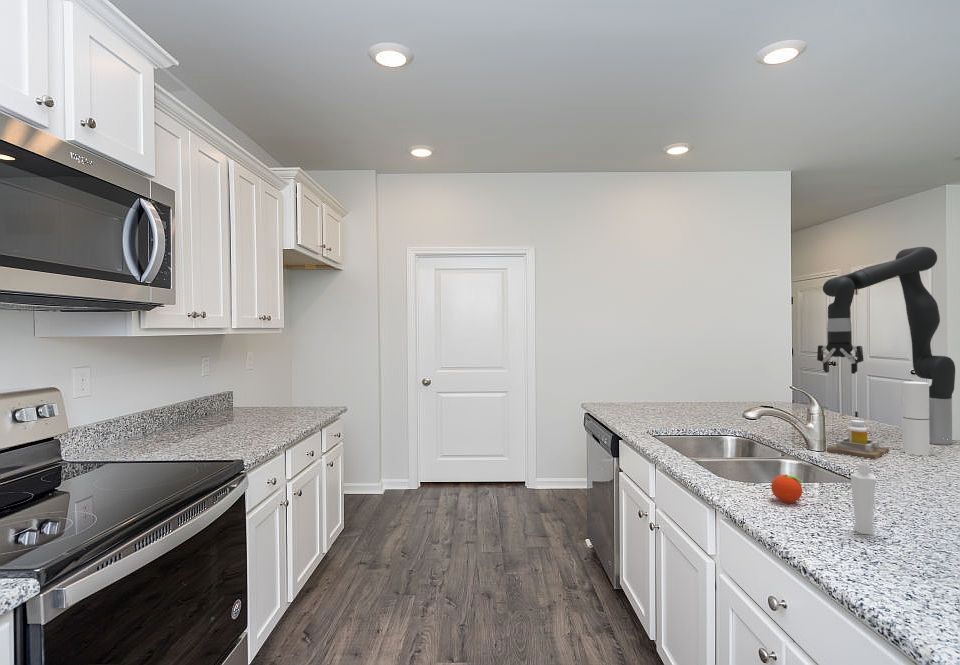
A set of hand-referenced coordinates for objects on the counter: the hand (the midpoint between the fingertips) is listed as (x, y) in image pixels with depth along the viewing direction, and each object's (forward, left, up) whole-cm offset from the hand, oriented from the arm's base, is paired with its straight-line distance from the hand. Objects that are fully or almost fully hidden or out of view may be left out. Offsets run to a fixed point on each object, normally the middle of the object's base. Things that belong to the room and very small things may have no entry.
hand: (839, 372), depth 190 cm
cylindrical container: (-4, +21, -28) cm, 35 cm away
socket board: (+9, +8, -27) cm, 30 cm away
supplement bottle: (+9, +8, -26) cm, 29 cm away
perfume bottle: (+89, +33, -28) cm, 99 cm away
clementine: (+82, +15, -28) cm, 88 cm away
